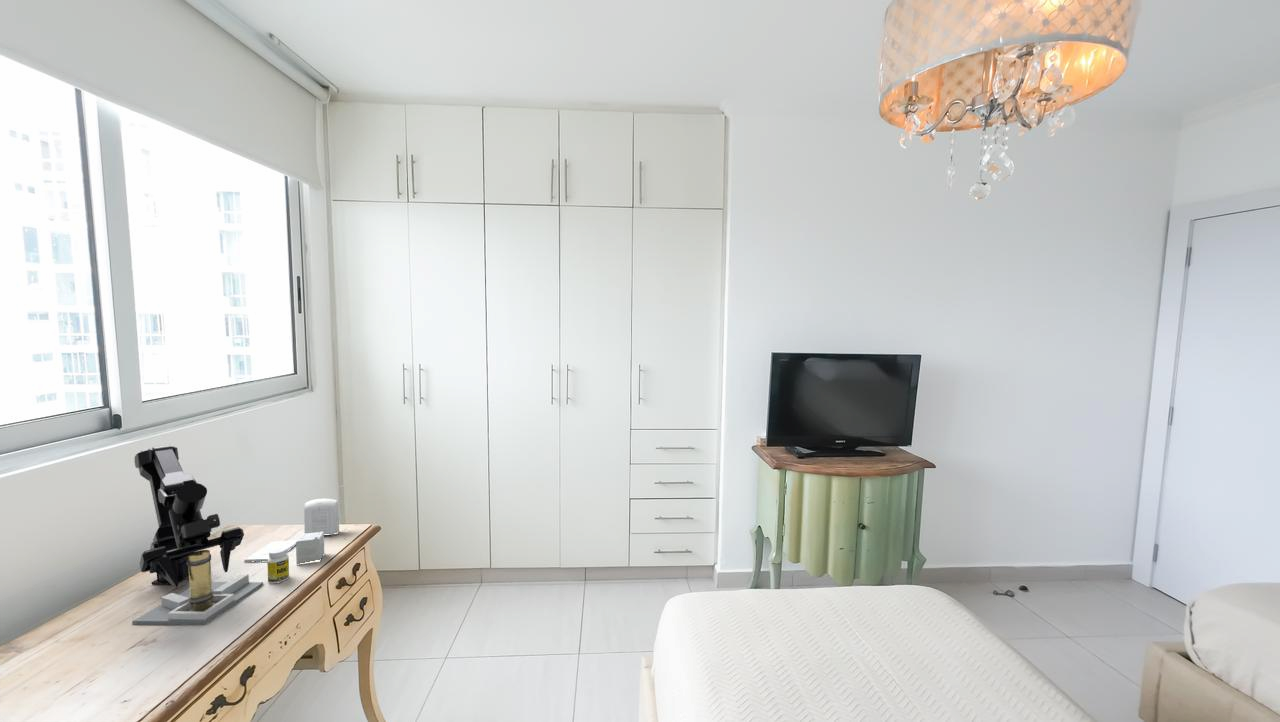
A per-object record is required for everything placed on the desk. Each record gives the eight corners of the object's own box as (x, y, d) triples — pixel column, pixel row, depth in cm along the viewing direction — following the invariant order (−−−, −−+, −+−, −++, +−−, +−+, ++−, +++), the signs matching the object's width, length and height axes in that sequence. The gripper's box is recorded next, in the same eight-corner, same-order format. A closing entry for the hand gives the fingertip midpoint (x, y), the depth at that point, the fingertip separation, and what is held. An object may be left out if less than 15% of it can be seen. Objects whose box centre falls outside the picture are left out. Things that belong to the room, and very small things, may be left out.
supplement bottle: (277, 584, 133) (276, 554, 133) (263, 582, 134) (262, 553, 134) (293, 576, 138) (292, 547, 138) (279, 574, 139) (278, 545, 139)
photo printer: (341, 530, 169) (340, 495, 169) (336, 536, 165) (335, 500, 164) (308, 533, 167) (306, 497, 166) (302, 538, 163) (301, 502, 162)
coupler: (185, 615, 118) (182, 558, 117) (197, 605, 122) (194, 550, 121) (207, 612, 119) (203, 556, 118) (218, 603, 123) (215, 548, 122)
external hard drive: (299, 545, 159) (272, 563, 147) (272, 546, 158) (244, 564, 146) (299, 540, 159) (272, 558, 146) (272, 541, 158) (243, 559, 146)
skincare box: (301, 557, 150) (300, 533, 149) (324, 553, 152) (324, 530, 152) (296, 565, 144) (295, 541, 144) (320, 562, 147) (319, 538, 146)
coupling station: (132, 624, 115) (131, 611, 115) (200, 584, 133) (199, 574, 133) (205, 624, 115) (204, 612, 115) (263, 585, 133) (262, 574, 133)
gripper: (139, 518, 113) (153, 579, 108) (240, 496, 128) (256, 548, 123) (134, 542, 118) (147, 601, 113) (231, 519, 134) (247, 570, 128)
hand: (202, 579), depth 119 cm, fingers open, 9 cm apart
